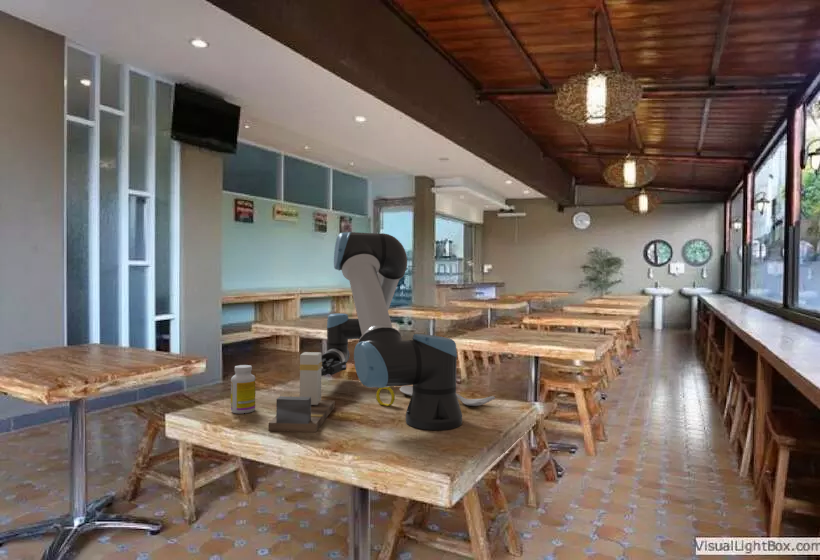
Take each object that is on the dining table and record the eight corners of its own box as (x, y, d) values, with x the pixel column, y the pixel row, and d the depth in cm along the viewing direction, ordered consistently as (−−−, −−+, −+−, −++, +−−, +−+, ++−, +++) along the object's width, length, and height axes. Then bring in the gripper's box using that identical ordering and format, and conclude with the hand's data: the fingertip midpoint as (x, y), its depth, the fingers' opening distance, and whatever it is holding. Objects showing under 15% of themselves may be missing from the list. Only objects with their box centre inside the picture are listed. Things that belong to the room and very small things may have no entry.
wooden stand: (294, 406, 154) (294, 379, 154) (334, 407, 154) (334, 380, 154) (268, 430, 130) (268, 399, 130) (315, 432, 130) (316, 400, 130)
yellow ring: (395, 406, 156) (397, 387, 156) (390, 408, 154) (391, 388, 154) (379, 402, 160) (380, 383, 159) (374, 404, 157) (375, 384, 157)
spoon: (481, 413, 150) (481, 401, 150) (394, 396, 169) (394, 385, 169) (495, 406, 157) (495, 395, 157) (410, 391, 176) (410, 381, 176)
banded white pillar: (303, 399, 152) (304, 352, 151) (321, 400, 151) (321, 352, 151) (299, 404, 146) (299, 354, 146) (317, 404, 146) (317, 355, 146)
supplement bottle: (260, 410, 149) (260, 365, 149) (241, 415, 144) (241, 369, 143) (244, 407, 153) (244, 363, 152) (225, 412, 147) (225, 366, 147)
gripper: (350, 372, 179) (337, 388, 155) (313, 371, 180) (294, 387, 156) (350, 351, 179) (337, 363, 155) (313, 350, 180) (294, 362, 156)
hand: (315, 375), depth 156 cm, fingers closed
